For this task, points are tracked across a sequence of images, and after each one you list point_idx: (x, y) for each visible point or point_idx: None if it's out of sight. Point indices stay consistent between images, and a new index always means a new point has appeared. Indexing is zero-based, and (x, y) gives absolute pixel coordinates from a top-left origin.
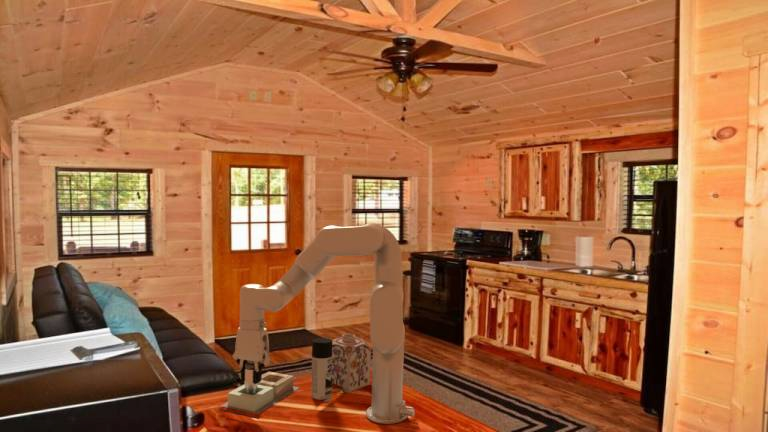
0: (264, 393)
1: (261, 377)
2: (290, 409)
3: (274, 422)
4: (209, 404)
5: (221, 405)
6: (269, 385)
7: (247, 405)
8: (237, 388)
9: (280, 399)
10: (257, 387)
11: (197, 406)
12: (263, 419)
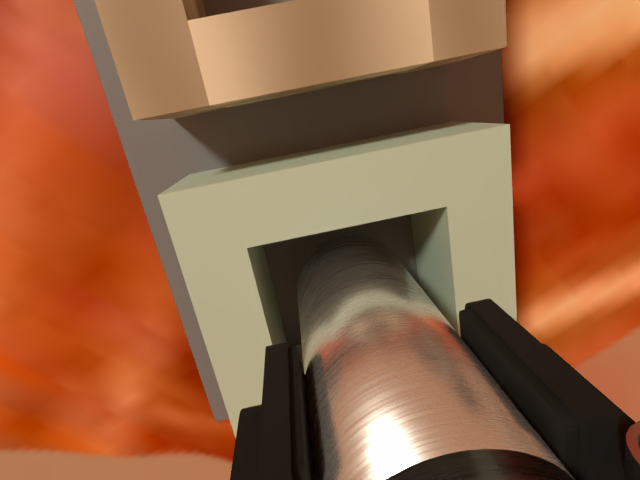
0: (511, 279)
1: (554, 353)
2: (598, 108)
3: (606, 311)
4: (77, 386)
5: (217, 415)
6: (396, 68)
7: None
8: (218, 361)
9: (499, 75)
10: (421, 288)
11: (52, 444)
12: (527, 323)
